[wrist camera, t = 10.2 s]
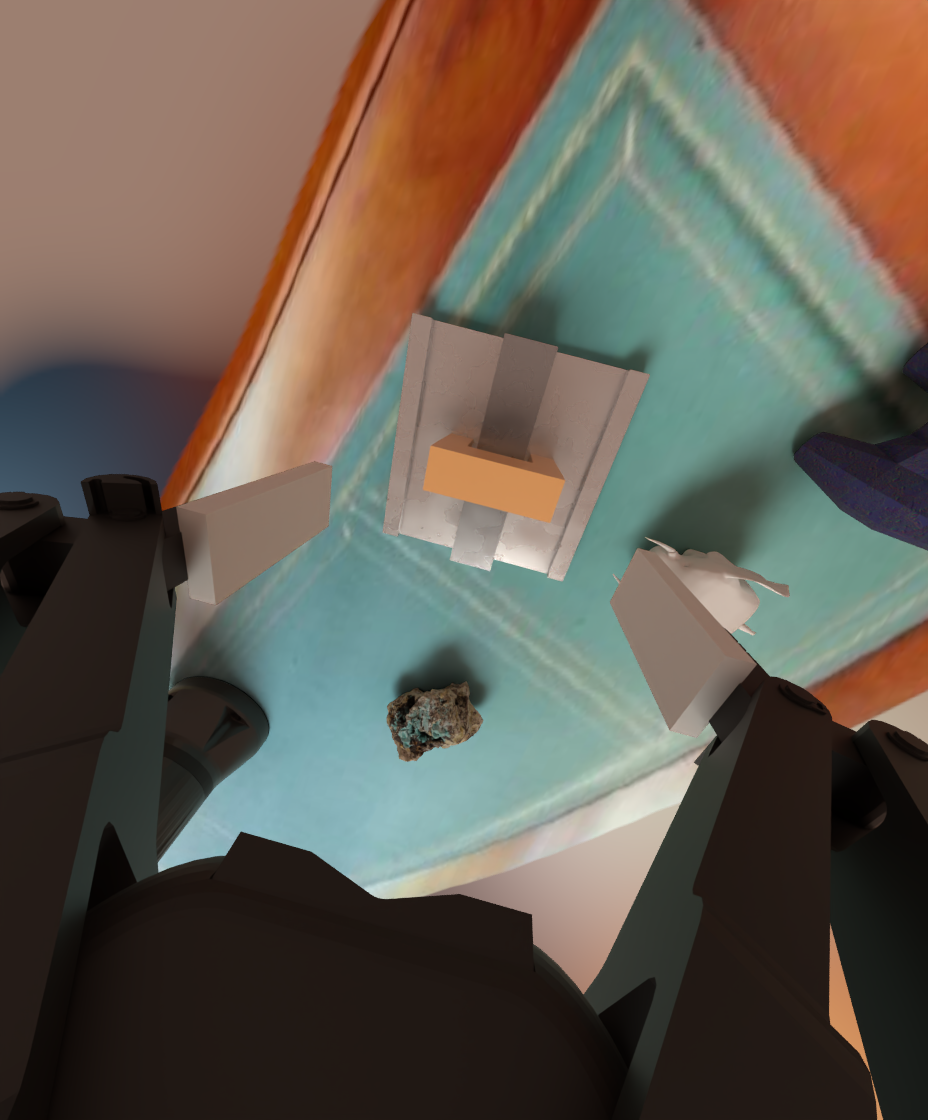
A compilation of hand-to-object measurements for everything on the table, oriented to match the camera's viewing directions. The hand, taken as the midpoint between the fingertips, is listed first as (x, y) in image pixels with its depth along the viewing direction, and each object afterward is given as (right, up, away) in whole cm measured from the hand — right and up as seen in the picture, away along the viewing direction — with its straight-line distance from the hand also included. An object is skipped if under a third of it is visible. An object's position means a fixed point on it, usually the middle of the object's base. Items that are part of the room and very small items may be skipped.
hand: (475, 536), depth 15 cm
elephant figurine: (+20, -2, +19) cm, 27 cm away
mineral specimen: (-4, -19, +30) cm, 36 cm away
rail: (+3, +8, +16) cm, 18 cm away
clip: (+2, +7, +15) cm, 17 cm away
